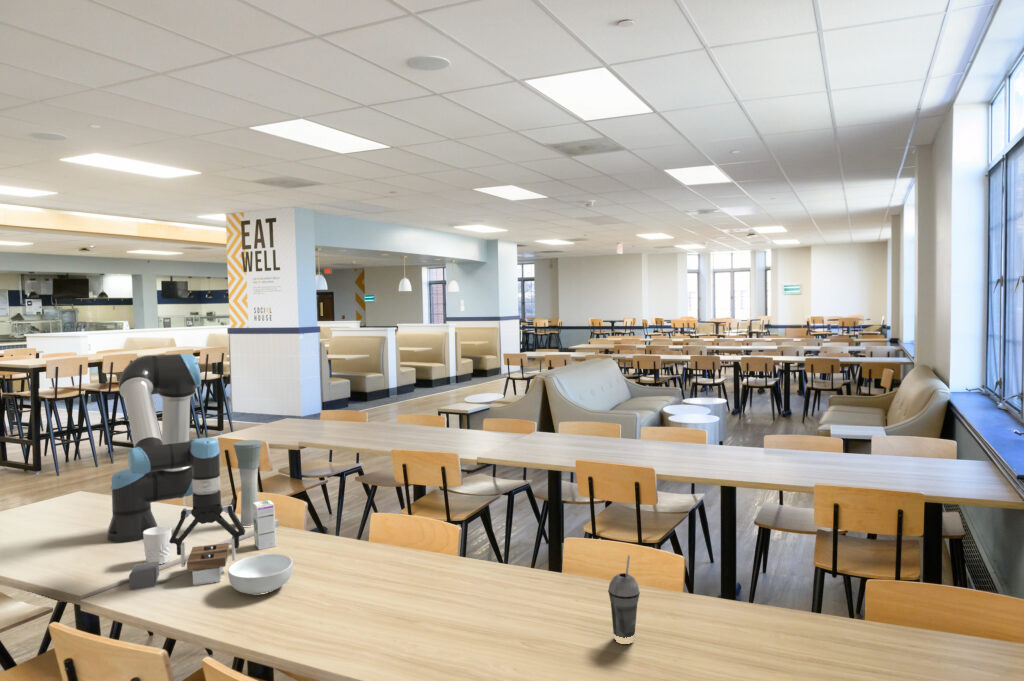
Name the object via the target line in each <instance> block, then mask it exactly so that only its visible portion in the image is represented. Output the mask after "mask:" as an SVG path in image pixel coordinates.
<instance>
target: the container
mask: <svg viewBox="0 0 1024 681" xmlns="http://www.w3.org/2000/svg"><path fill="white" fill-rule="evenodd" d="M262 446H263V441H262V440H259V439H247V440H240V441H235V442H233V448H234V451H235V455H236V459H237V468H238V471H239V477H240V484H241V487H240V493H241V494H240V496H241V497H240V500H241V501H240V502H241V504H240V523H241V524H242V526H251V525H254V516H253V503H255V502H259V495H258V491H259V490H258V489H259V488H258V473H259V467H260V456H261V451H262Z"/></svg>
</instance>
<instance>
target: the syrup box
mask: <svg viewBox="0 0 1024 681" xmlns="http://www.w3.org/2000/svg"><path fill="white" fill-rule="evenodd" d="M253 516H254V527H253V532H254V533H253V534H254V535H253V536H254V537H253V538H254V546H255V547H256V548H257V550H259V551H260V550H266V549H270V548H275V547H277V537H276V536H277V535H276V534H277V532H276V519H275V518H276V517H275V516H276V515H275V504H274V503H273V502H272V501H271V500H270V499H266V500H260V501H259V500H258V502H255V503H253Z"/></svg>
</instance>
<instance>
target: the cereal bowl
mask: <svg viewBox="0 0 1024 681" xmlns="http://www.w3.org/2000/svg"><path fill="white" fill-rule="evenodd" d="M293 567H294V563H293V559H292V558H291V557H290V556H288V555H285V554H280V553H262V554H257V555H251V556H247V557H243V558H242V559H239V560H237V561H235V562H234V563H232V564H231V565H230V566H229V567H228V572H227V574H228V581H229V583H230V585H231V587H232V588H233V589H235V591H238V592H240V593H243V594H248V595H251V594H261V593H266V592H270V591H272V590H274V591H275V590H277V589H279V588H281V587H282V586H284V585H285V584H287V583H288V581H289V580H290V578H291V577H292V574H293V570H294V568H293ZM272 592H273V591H272ZM270 593H271V592H270Z"/></svg>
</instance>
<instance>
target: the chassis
mask: <svg viewBox="0 0 1024 681" xmlns="http://www.w3.org/2000/svg"><path fill="white" fill-rule="evenodd" d="M208 550H213V546H207V551H208ZM208 558H211V554H205V555H204V559H208ZM223 570H224V567H216V568H208V569H200V570H192V586H199V585H207V584H214V582H216V583H220V582H221V580H220V579H222V576H223V575H222V574H223Z"/></svg>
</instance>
